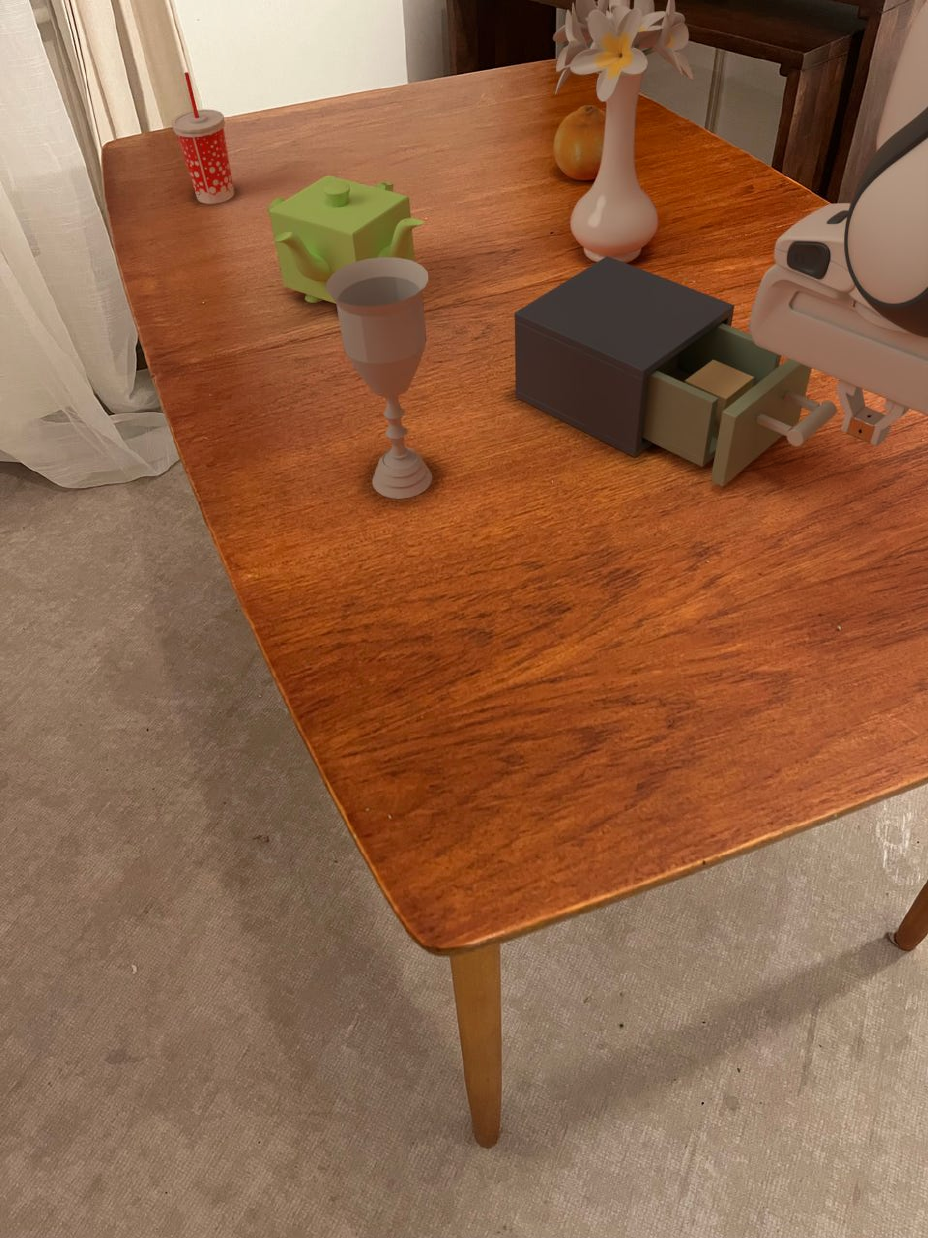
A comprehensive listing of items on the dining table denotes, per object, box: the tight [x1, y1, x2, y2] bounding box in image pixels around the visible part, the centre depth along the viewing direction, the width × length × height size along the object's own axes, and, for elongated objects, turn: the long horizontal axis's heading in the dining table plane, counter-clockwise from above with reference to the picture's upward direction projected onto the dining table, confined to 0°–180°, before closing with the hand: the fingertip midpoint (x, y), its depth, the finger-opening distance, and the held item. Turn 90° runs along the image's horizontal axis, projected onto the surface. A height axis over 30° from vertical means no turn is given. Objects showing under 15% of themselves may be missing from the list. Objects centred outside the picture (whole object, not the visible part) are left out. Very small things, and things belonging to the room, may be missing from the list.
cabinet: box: [514, 256, 735, 458], centre depth 86 cm, size 14×13×9 cm
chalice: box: [327, 257, 433, 500], centre depth 76 cm, size 7×7×18 cm
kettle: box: [266, 174, 425, 305], centre depth 100 cm, size 15×14×11 cm
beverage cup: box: [171, 71, 235, 205], centre depth 116 cm, size 6×6×14 cm
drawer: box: [642, 323, 838, 488], centre depth 81 cm, size 17×11×7 cm
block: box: [685, 360, 754, 439], centre depth 81 cm, size 4×4×4 cm
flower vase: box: [552, 0, 694, 264], centre depth 98 cm, size 13×18×25 cm
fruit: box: [552, 104, 606, 181], centre depth 118 cm, size 8×8×8 cm
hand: (863, 435), depth 73 cm, fingers closed
